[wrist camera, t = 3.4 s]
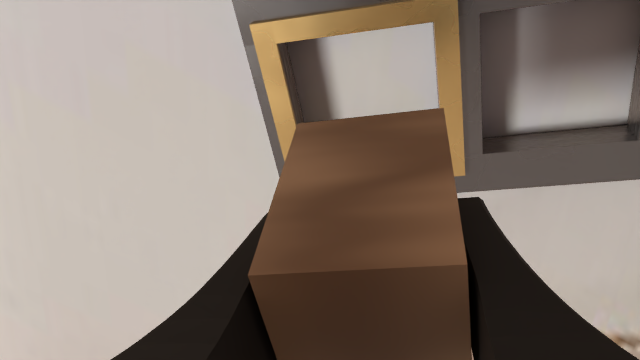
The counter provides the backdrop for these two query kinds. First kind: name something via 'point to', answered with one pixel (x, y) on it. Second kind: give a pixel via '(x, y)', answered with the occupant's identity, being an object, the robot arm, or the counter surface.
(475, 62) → the grey slotted tray
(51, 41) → the counter surface
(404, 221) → the brown wooden block
